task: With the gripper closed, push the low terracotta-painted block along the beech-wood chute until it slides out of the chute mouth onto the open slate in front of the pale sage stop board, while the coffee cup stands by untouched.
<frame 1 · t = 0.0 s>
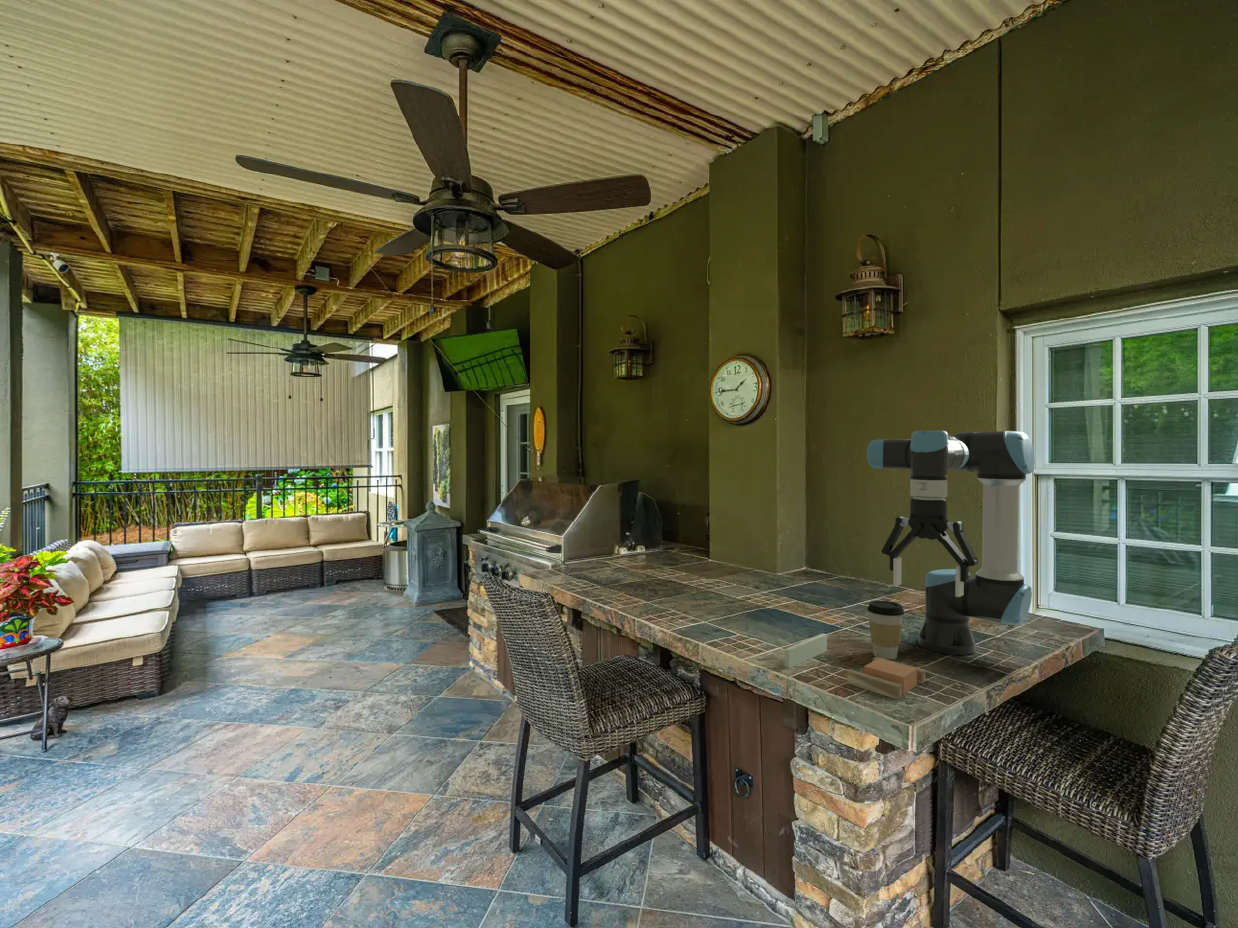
hand: (927, 590, 138), 28 cm above the worktop, fingers open, 13 cm apart
coffee cup: (885, 656, 174), on the worktop
chute: (886, 682, 155), on the worktop
block: (890, 684, 154), on the worktop
stop board: (806, 658, 172), on the worktop
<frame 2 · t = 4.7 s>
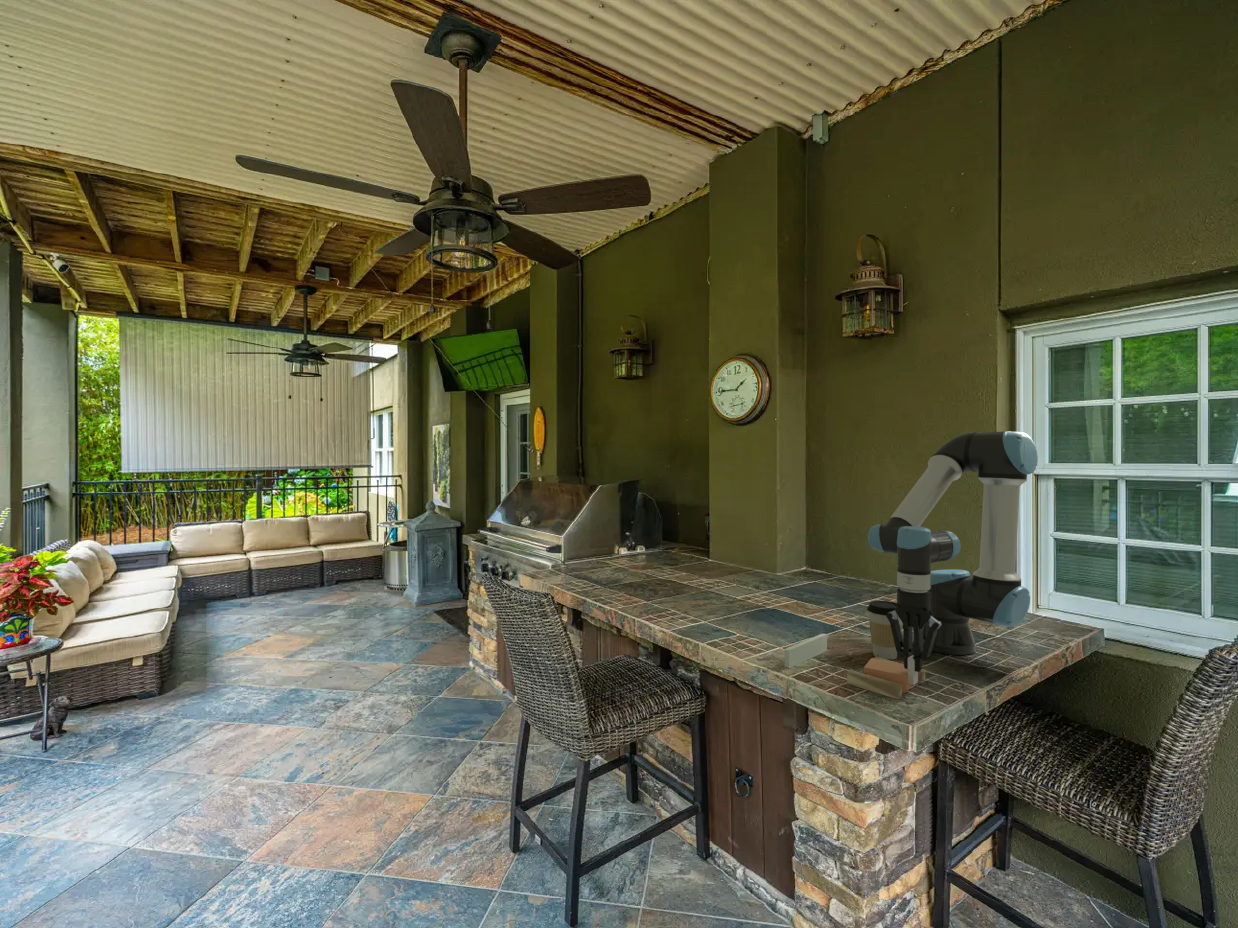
hand: (912, 682, 150), 2 cm above the worktop, fingers closed
block: (888, 683, 155), on the worktop, touching gripper
everything else where it was.
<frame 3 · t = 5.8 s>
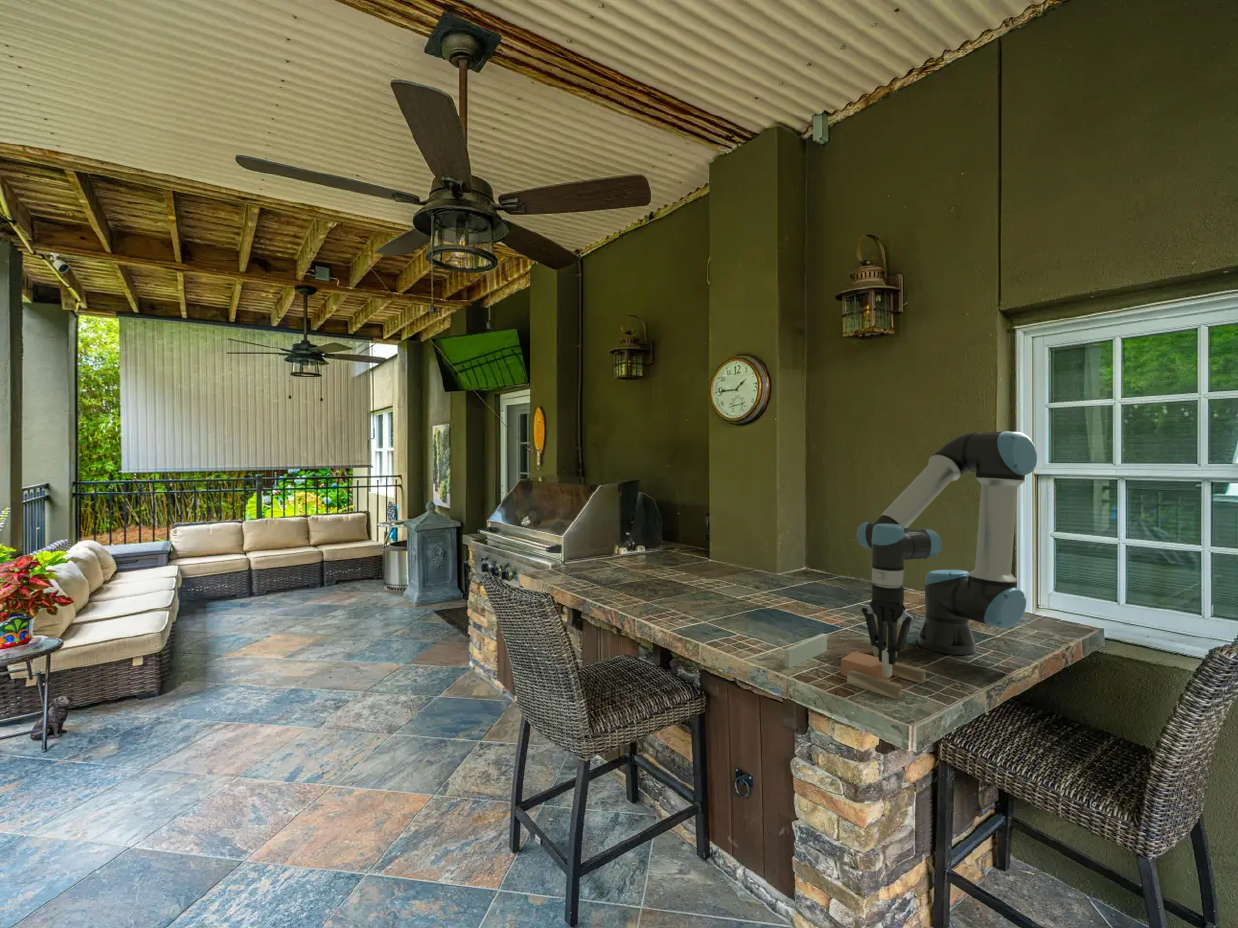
hand: (887, 675, 155), 2 cm above the worktop, fingers closed
block: (866, 676, 160), on the worktop
everything else where it was.
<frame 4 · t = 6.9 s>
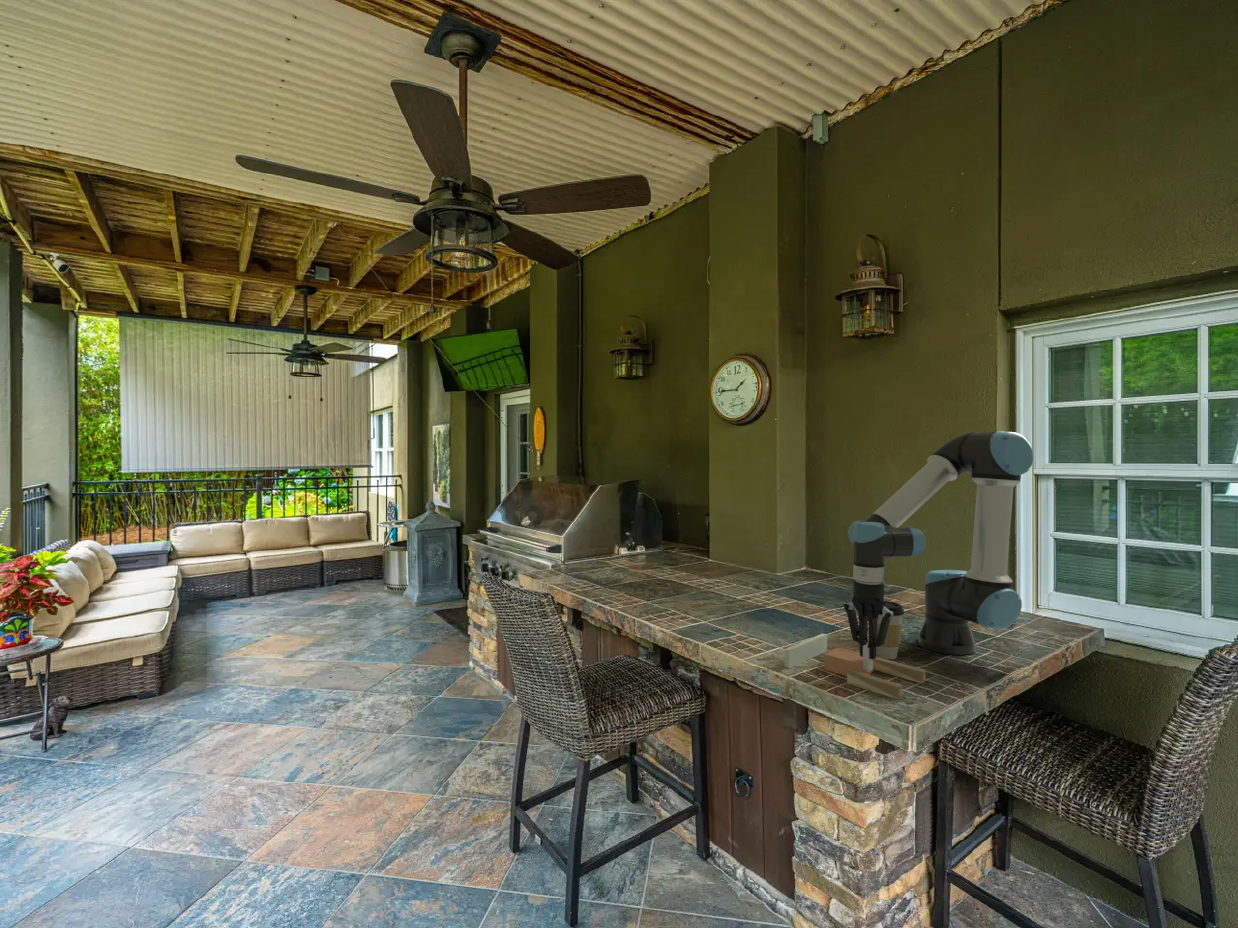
hand: (867, 669, 159), 2 cm above the worktop, fingers closed
block: (848, 671, 163), on the worktop
everything else where it was.
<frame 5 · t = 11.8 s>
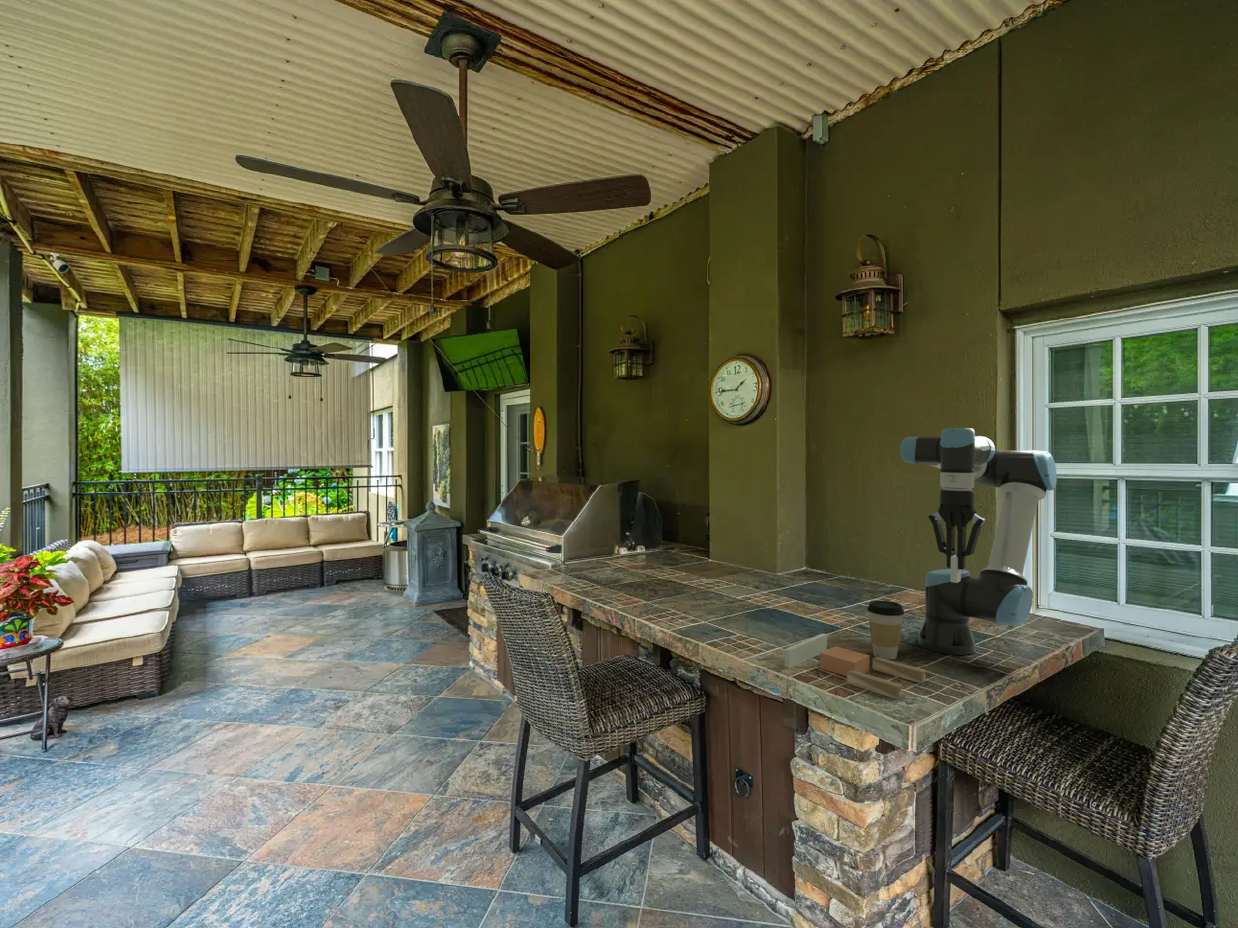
hand: (955, 581, 153), 26 cm above the worktop, fingers closed
block: (844, 670, 164), on the worktop
everything else where it was.
at the end: block inside the target area (2.8 cm from its centre), on the worktop; block tilted 0° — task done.
